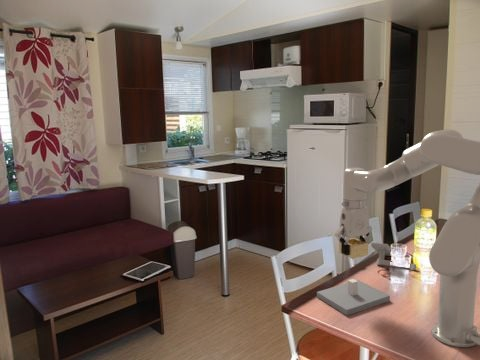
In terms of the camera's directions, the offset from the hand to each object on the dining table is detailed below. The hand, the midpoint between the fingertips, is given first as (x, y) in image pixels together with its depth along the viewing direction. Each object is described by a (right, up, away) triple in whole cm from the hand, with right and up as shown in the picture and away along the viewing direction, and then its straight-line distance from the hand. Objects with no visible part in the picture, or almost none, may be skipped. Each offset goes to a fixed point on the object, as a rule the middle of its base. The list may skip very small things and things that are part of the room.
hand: (353, 251), depth 147 cm
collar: (0, -1, 0) cm, 1 cm away
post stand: (+1, -18, +4) cm, 18 cm away
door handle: (+28, -11, +35) cm, 46 cm away
